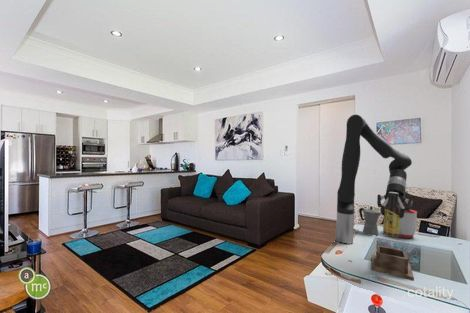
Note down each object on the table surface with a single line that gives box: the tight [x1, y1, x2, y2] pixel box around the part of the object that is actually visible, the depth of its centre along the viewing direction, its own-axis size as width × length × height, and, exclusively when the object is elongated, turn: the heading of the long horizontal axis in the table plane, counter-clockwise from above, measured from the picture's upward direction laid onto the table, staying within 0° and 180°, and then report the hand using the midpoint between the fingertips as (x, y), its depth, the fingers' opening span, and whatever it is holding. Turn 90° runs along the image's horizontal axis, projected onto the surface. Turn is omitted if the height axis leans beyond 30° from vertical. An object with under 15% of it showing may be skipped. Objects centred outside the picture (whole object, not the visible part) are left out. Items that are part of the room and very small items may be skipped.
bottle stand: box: [371, 244, 415, 281], centre depth 105 cm, size 15×16×7 cm
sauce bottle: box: [382, 192, 401, 238], centre depth 106 cm, size 7×6×20 cm
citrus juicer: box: [397, 208, 418, 239], centre depth 152 cm, size 16×17×20 cm
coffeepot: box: [358, 206, 382, 236], centre depth 155 cm, size 15×9×18 cm, turn 25°
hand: (391, 215), depth 104 cm, fingers closed on sauce bottle, 6 cm apart
